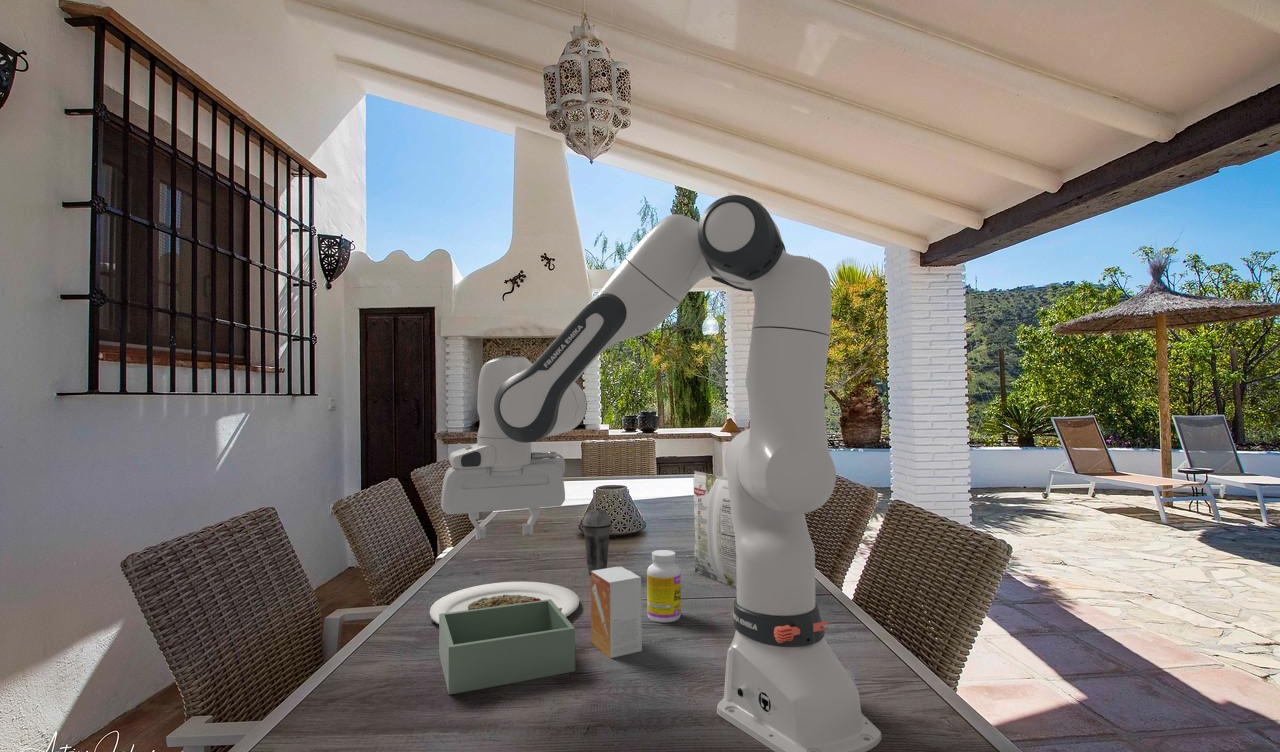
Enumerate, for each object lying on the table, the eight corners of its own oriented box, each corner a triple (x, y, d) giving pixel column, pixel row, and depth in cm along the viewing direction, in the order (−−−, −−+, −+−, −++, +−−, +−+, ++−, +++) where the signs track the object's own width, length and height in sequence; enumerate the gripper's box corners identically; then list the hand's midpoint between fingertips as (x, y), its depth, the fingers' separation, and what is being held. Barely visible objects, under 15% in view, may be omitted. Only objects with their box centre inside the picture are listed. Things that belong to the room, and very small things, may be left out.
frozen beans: (762, 592, 144) (761, 479, 145) (742, 596, 141) (741, 481, 142) (704, 570, 162) (703, 469, 162) (685, 573, 159) (684, 471, 159)
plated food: (458, 589, 149) (458, 574, 150) (588, 590, 148) (588, 575, 148) (404, 639, 120) (404, 621, 120) (566, 641, 118) (566, 623, 118)
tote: (575, 672, 104) (575, 628, 104) (448, 694, 97) (448, 647, 97) (551, 637, 119) (550, 599, 119) (439, 654, 111) (439, 613, 111)
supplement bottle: (678, 625, 125) (677, 557, 125) (644, 622, 126) (643, 556, 126) (682, 613, 131) (682, 549, 131) (650, 611, 132) (650, 547, 133)
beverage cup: (617, 570, 162) (617, 489, 163) (600, 577, 156) (600, 494, 156) (594, 565, 166) (593, 487, 166) (576, 572, 160) (576, 491, 160)
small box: (590, 643, 116) (589, 570, 116) (622, 636, 119) (621, 565, 119) (609, 660, 109) (609, 582, 109) (643, 652, 112) (642, 576, 112)
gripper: (560, 449, 115) (560, 527, 115) (439, 454, 107) (439, 538, 107) (569, 452, 109) (570, 535, 109) (443, 458, 102) (443, 546, 101)
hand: (504, 536), depth 108 cm, fingers open, 6 cm apart
